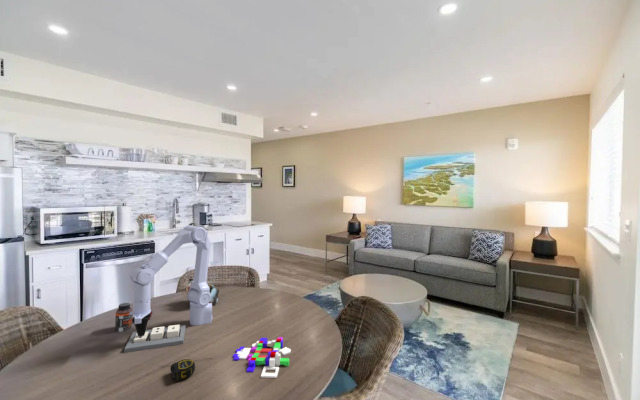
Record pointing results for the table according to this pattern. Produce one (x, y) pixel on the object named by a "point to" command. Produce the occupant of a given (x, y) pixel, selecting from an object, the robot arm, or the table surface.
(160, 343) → the keypad board
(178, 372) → the tape measure
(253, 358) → the building block set
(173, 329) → the tile
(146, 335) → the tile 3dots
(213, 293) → the lucky cat figurine
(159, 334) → the tile
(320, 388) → the table surface
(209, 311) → the robot arm
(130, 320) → the supplement bottle
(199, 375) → the table surface
